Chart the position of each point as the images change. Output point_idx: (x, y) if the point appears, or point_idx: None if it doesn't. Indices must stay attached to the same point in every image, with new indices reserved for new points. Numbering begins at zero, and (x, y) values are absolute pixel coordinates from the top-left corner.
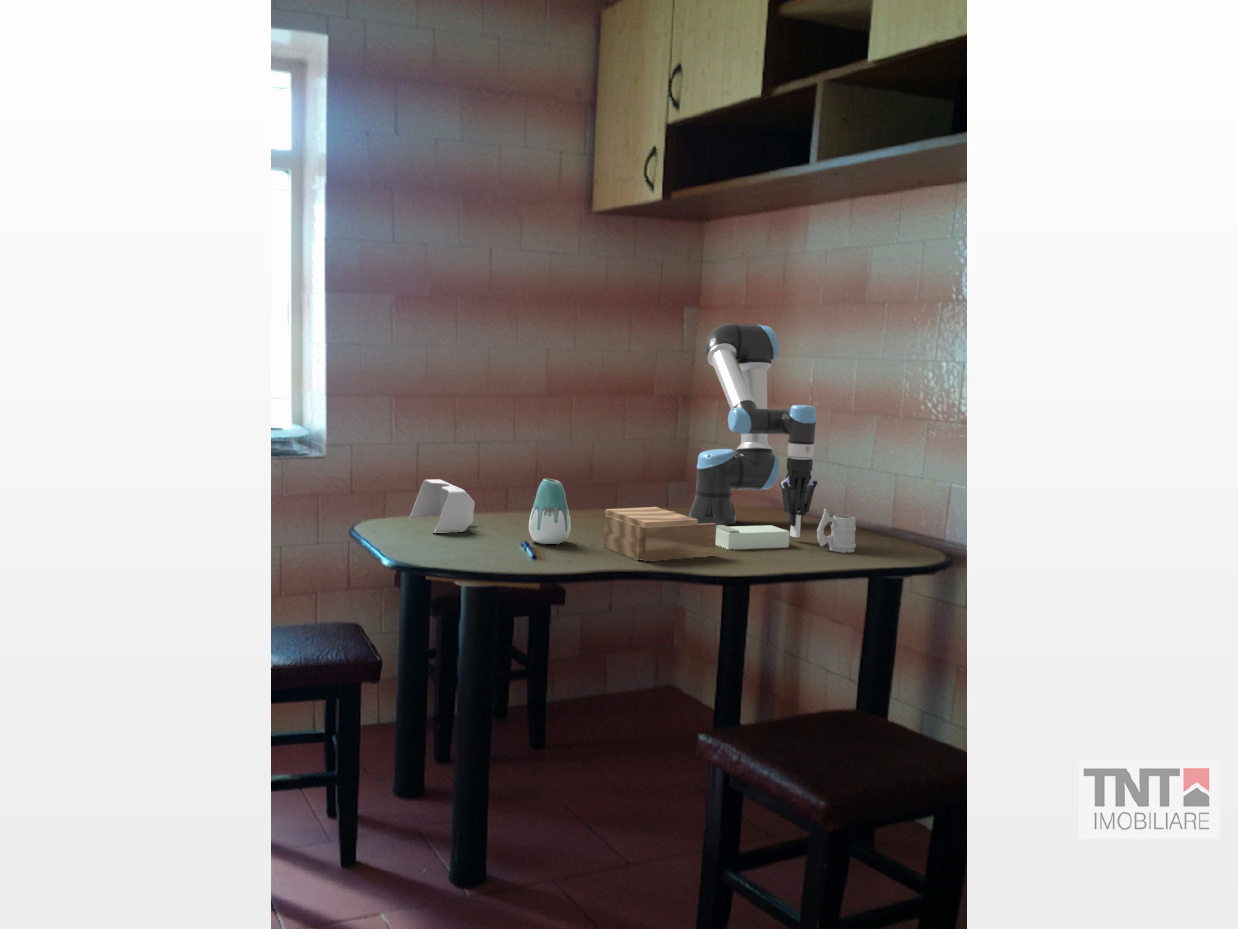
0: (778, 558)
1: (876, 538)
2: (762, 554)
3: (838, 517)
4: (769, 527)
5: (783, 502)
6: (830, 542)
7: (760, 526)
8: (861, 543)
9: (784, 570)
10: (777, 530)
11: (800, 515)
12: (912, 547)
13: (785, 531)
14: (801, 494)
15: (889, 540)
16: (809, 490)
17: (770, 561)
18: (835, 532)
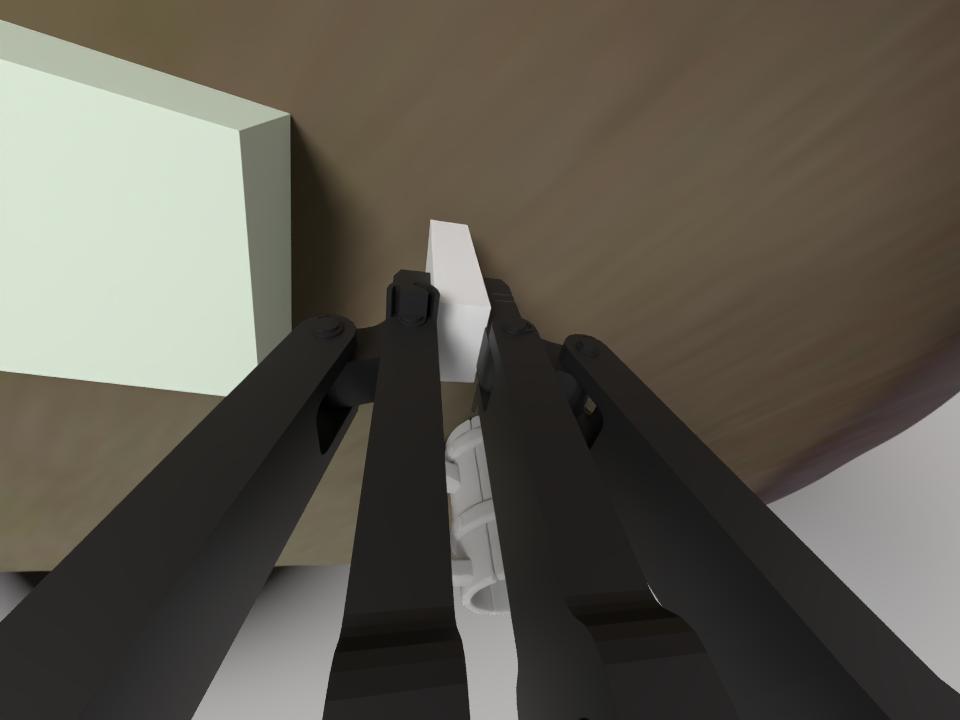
0: (93, 470)
1: (865, 346)
2: (20, 406)
3: (465, 604)
4: (143, 225)
5: (214, 415)
6: (450, 460)
7: (29, 127)
8: (695, 389)
9: (45, 562)
10: (169, 351)
11: (472, 377)
12: (739, 469)
13: (224, 392)
14: (517, 615)
15: (840, 387)
16: (726, 670)
17: (24, 492)
18: (453, 519)
